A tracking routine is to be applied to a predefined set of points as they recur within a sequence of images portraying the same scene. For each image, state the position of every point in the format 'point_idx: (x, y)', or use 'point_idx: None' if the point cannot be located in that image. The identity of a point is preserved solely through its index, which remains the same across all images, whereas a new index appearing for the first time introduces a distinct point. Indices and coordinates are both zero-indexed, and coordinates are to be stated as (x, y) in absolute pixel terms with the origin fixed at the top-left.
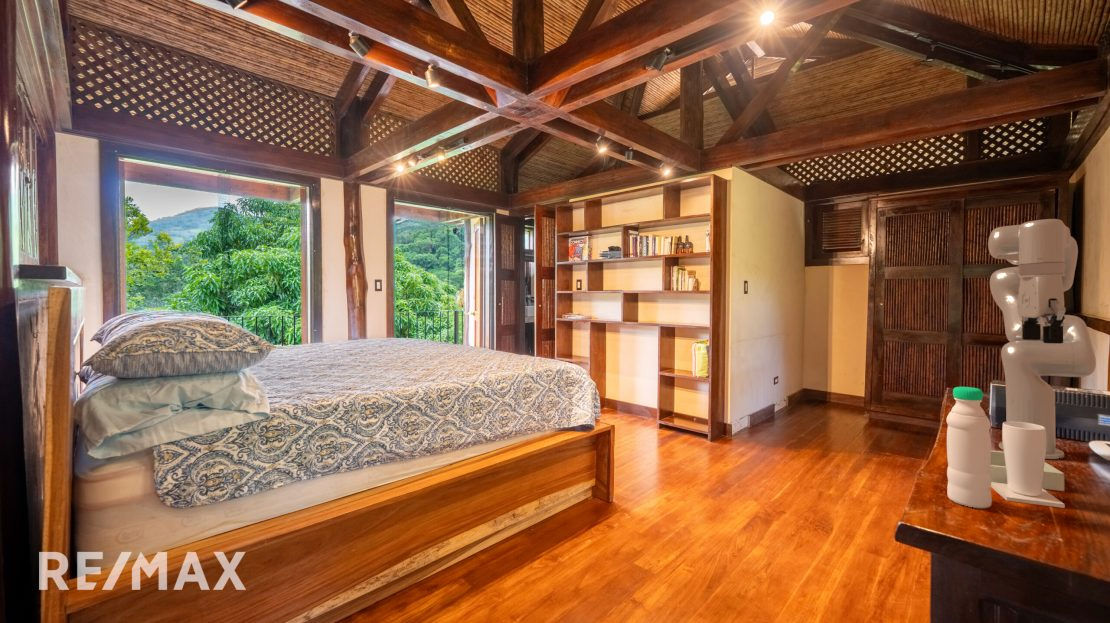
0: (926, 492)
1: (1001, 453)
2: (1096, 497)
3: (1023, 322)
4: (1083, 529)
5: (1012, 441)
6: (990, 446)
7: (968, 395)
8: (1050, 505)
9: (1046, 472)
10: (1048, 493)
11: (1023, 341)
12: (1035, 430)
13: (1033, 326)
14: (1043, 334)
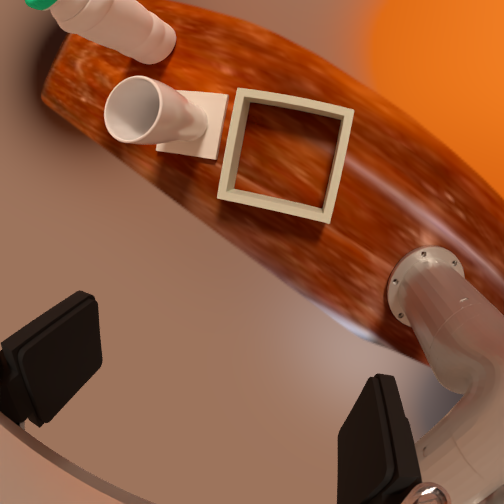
0: (182, 8)
1: (333, 171)
2: (209, 222)
3: (418, 496)
4: (105, 134)
5: (136, 88)
6: (90, 40)
7: None
8: None
9: (221, 175)
10: (192, 154)
11: None
12: (105, 115)
13: (355, 493)
14: (48, 313)
